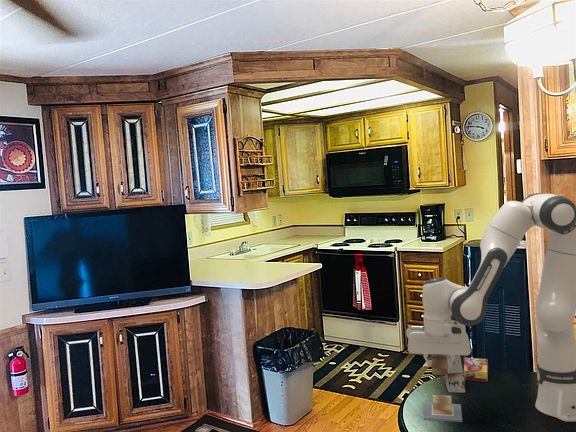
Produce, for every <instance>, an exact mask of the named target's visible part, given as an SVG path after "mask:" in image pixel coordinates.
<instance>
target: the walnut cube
mask: <svg viewBox="0 0 576 432" xmlns="http://www.w3.org/2000/svg"><path fill="white" fill-rule="evenodd" d="M431 361H432V367H431V374H432V375H437V376H438V375H440V376H445V375H448V367H447V355H438V354H431Z"/></svg>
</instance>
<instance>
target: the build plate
mask: <svg viewBox="0 0 576 432" xmlns="http://www.w3.org/2000/svg"><path fill="white" fill-rule="evenodd" d="M423 407H424V410H423V411H424V412H423V419H424V420H426V421H440V422H442V421H443V422H457V423H463V415H462V414H463V412H462V405H461V403H460V404H459V403H452V415H442V414H433V402H426V401H425V402H424V406H423Z"/></svg>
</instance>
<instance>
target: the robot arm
mask: <svg viewBox="0 0 576 432" xmlns="http://www.w3.org/2000/svg"><path fill="white" fill-rule="evenodd" d="M534 226H536V227H538V228H541V229H546V231H547V232H548V241H547V245H546V250H545V255H544V260H543V261H544V262H543V266H542V270H541V271H542V272H541V278H540V279H541V280H540V283H539V284H540V285H539V289H538V295H537V296H536V298H535V305H534V306H535V321H536V340H537V341H536V343H537V344H536V345H537V360H538V361H537V363H538V364H537V365H536V375H537V376H536V377H537V381H538V390H537V396H536V401H535V404H534V406H535V409H537V410H538V411H539V412H541V413H543V414H544V415H547V416H551V417H554V418H557V419H559V420H561V421H563V422H576V337H575V328H574V327H575V325H574V321H575V319H576V204H574V202H573V201H572V200H571V199H569V198H567V197H565V196H561V195H558V194H553V193H542V192H538V193H537V192H536V193H532V194H529V195H527V196H526V197H524V198H523V199H521V200H520V201H518V200H509V201H506V202H504V203H503V205H501V207H500V208H499V209H498V210H497V211H496V213H494V215H493V217H491V220H490V221H489V222H488V225H487V227H486V228H485V230H484V231H483V234H482V237H481V240H480V242H479V247H480V253H481V254H480V255H481V257H480V258H481V259H480V263H479V267H478V269H477V271H476V273H475V275H474V276H473V279H472V280H471V282H470V284H469V286H468V287H467V286H463V285H460V284H457V283H454V282H452V281H450V280H449V279H447V278H446V277H433V278H430V279H428V280H425V282H424V283H423V285H422V293H421V295H422V307H423V311H424V312H423V317H422V318H423V325H417V326H416V325H410V326H409V327H407V328H406V330H405V335H406V337H407V339H408V340H407V341H408V342H407V351H408V353H409V354H411V355H423V359H424V360H425V361H426V363H427V364H426V365H427V368H429V367H430V368H432V361H431V360H430V359H429V355H450V356H451V359H450V361H447V367H448V368H452V362H453V361H454V359H455V355H464V356H469V355H471V351H472V349H471V343H470V340H469V335H468V333H467V332H466V326H467V327H469V326H470V327H471V326H476V325H478V324H480V323H481V322H482V321H483V319H485V317H486V313H487V305H488V300H489V297H490V295H491V293H492V291H493V289H494V287H495V286H496V284H497V282H498V280H499V278H500V277H501V274H502V272H503V270H504V269H505V267H506V266H507V264H508V262H509V261H510V258H512V256H513V255H514V253H515V252H516V250H517V248H518V247H519V246H520V244H521V242H522V240H523V238H524V237H525V235H526V233H527V232H528V231H529V230H530V229H532V228H533V227H534ZM452 317H453V318H454V320H453V319H452Z"/></svg>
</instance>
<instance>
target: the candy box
mask: <svg viewBox="0 0 576 432" xmlns="http://www.w3.org/2000/svg"><path fill="white" fill-rule="evenodd" d="M464 375H465V381H469V382H470V381H472V382H484V383H485V382H486V383H488V381H489V380H488V375H489V365H488V359H487V358H476V357H475V358H474V357H464Z"/></svg>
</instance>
